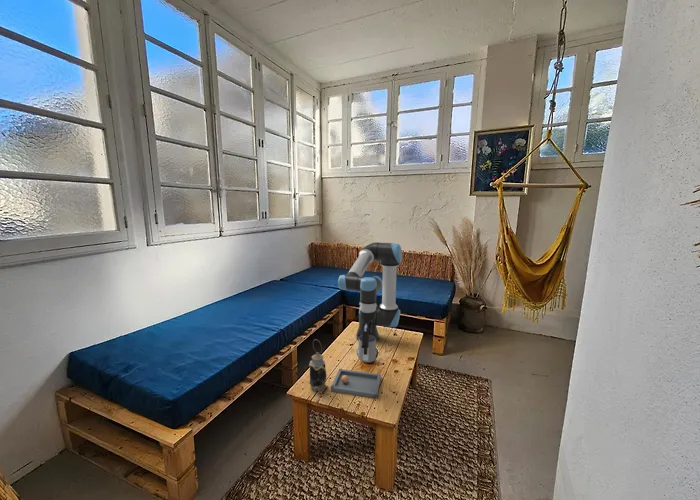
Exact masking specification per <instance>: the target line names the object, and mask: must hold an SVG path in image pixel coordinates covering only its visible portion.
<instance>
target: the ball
mask: <svg viewBox="0 0 700 500" xmlns="http://www.w3.org/2000/svg"><path fill="white" fill-rule="evenodd" d="M341 380H342V382H343V383H347V382H348V380H349V378H348V376H347V375H343V376H342V378H341Z"/></svg>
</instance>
